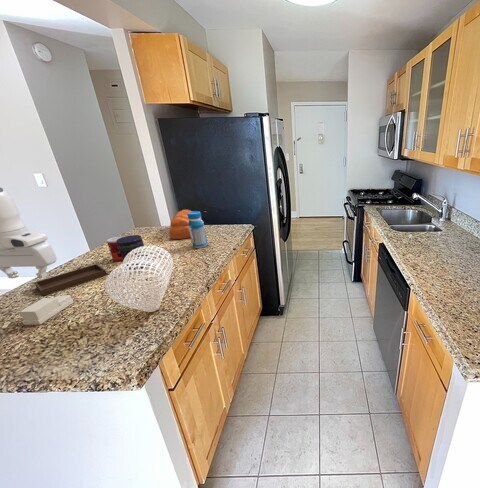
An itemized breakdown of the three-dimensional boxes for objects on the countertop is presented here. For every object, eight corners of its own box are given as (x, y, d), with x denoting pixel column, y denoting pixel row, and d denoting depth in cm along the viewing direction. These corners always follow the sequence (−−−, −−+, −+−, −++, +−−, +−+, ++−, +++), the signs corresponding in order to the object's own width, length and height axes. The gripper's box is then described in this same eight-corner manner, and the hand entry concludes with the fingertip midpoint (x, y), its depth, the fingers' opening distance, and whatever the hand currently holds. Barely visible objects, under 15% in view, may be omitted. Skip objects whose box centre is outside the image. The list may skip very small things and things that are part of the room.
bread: (200, 223, 192) (197, 206, 187) (196, 237, 164) (192, 217, 159) (177, 225, 187) (173, 208, 182) (168, 240, 160) (163, 220, 155)
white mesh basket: (170, 330, 85) (152, 269, 76) (113, 341, 80) (88, 278, 72) (184, 287, 109) (172, 238, 101) (141, 293, 105) (125, 243, 96)
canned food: (119, 255, 139) (112, 236, 135) (134, 254, 140) (128, 235, 136) (109, 261, 132) (102, 241, 128) (126, 261, 133) (119, 241, 129)
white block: (40, 324, 88) (33, 312, 86) (23, 324, 88) (17, 312, 86) (74, 302, 100) (69, 291, 98) (59, 302, 100) (54, 291, 98)
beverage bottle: (200, 249, 147) (194, 215, 140) (189, 247, 150) (181, 213, 142) (211, 243, 155) (205, 211, 147) (200, 242, 157) (193, 210, 150)
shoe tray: (43, 296, 104) (40, 290, 103) (36, 287, 110) (34, 282, 109) (107, 274, 120) (105, 269, 119) (98, 268, 126) (96, 263, 125)
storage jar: (144, 260, 133) (136, 233, 128) (153, 265, 128) (145, 237, 122) (122, 268, 126) (112, 239, 120) (130, 273, 121) (120, 244, 115)
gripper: (-38, 242, 78) (-15, 282, 83) (31, 241, 78) (50, 281, 83) (-13, 235, 84) (7, 273, 89) (51, 234, 84) (67, 272, 89)
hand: (28, 277), depth 86 cm, fingers open, 8 cm apart
